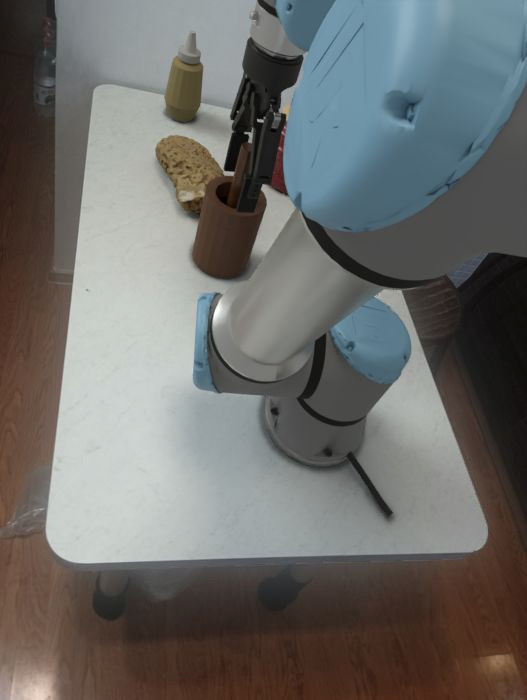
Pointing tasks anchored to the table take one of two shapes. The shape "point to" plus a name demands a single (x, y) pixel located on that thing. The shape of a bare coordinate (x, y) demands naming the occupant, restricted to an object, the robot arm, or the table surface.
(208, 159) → the sponge
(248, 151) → the brush
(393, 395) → the table surface
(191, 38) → the squeeze bottle
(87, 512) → the table surface
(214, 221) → the jar
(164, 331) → the table surface
